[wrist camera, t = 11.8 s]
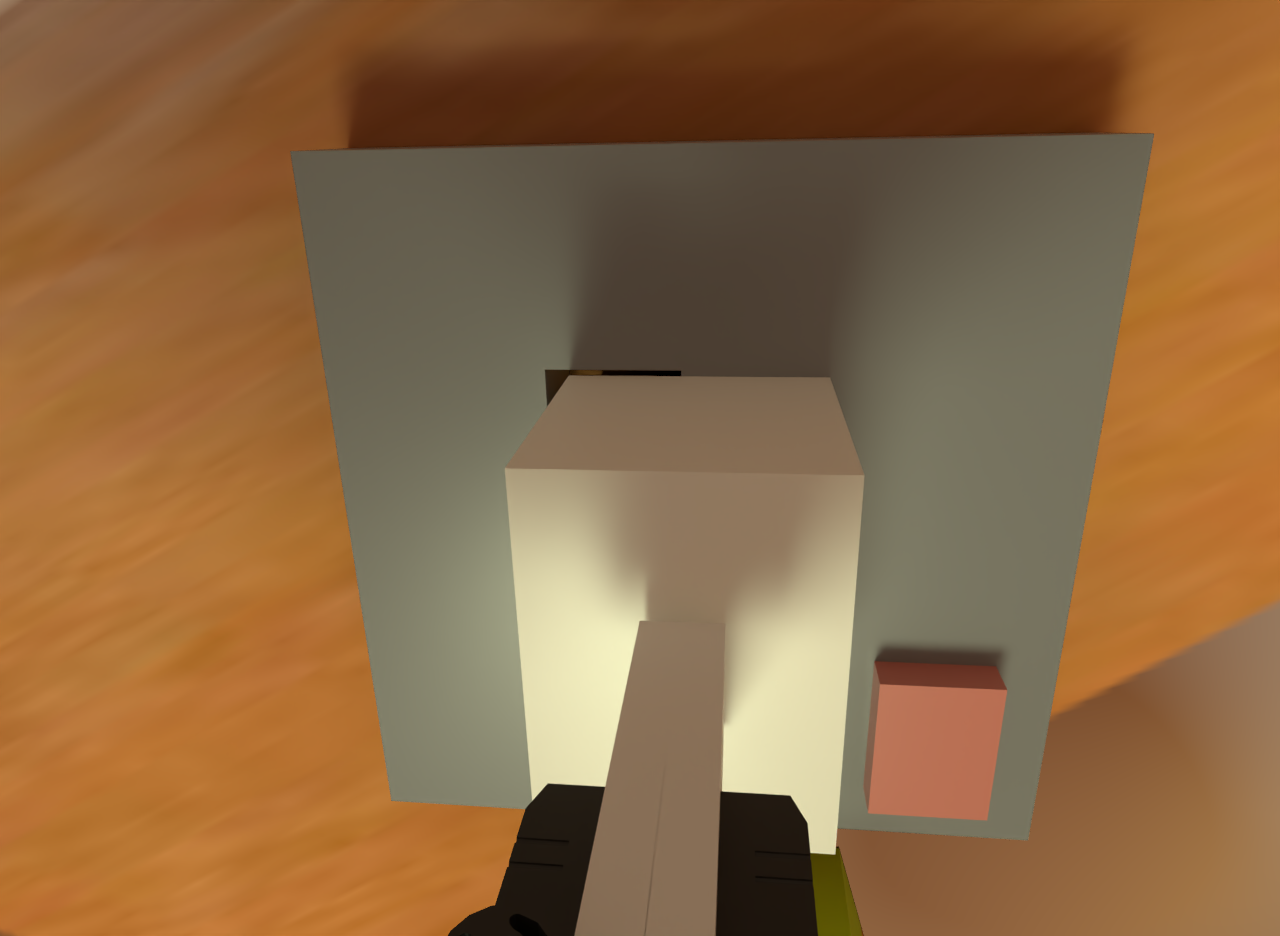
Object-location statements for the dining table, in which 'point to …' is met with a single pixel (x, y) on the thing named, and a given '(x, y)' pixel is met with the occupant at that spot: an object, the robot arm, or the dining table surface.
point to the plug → (691, 569)
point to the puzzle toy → (833, 897)
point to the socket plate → (735, 347)
